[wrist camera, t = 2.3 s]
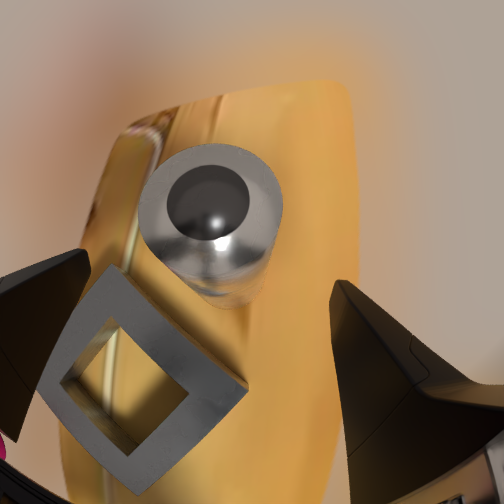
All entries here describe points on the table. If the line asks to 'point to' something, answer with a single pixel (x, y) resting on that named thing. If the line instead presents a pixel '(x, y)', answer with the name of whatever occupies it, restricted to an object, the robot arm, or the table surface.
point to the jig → (159, 350)
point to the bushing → (213, 221)
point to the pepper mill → (2, 449)
